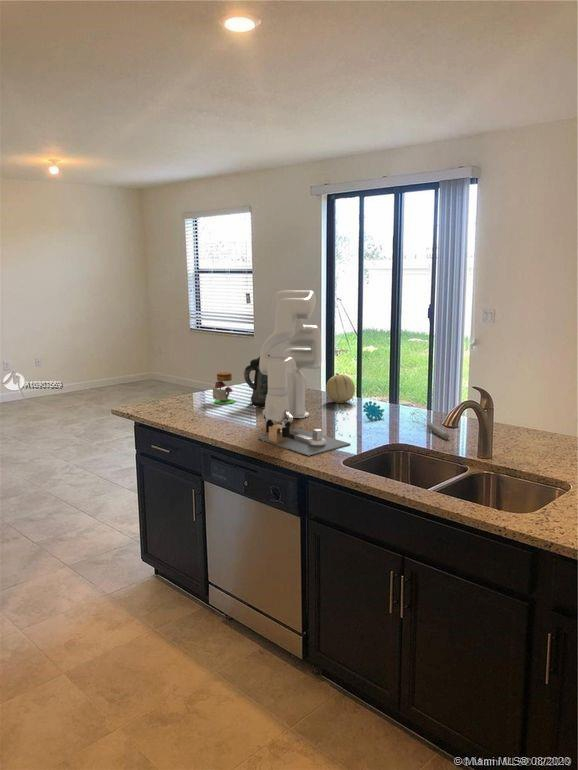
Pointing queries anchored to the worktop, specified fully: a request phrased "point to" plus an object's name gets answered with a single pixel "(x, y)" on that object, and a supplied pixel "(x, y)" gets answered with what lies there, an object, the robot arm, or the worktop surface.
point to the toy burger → (220, 393)
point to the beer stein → (257, 383)
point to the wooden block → (276, 434)
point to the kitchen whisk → (433, 427)
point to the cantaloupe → (340, 388)
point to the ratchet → (309, 438)
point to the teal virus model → (373, 410)
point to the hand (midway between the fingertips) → (277, 434)
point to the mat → (305, 447)
